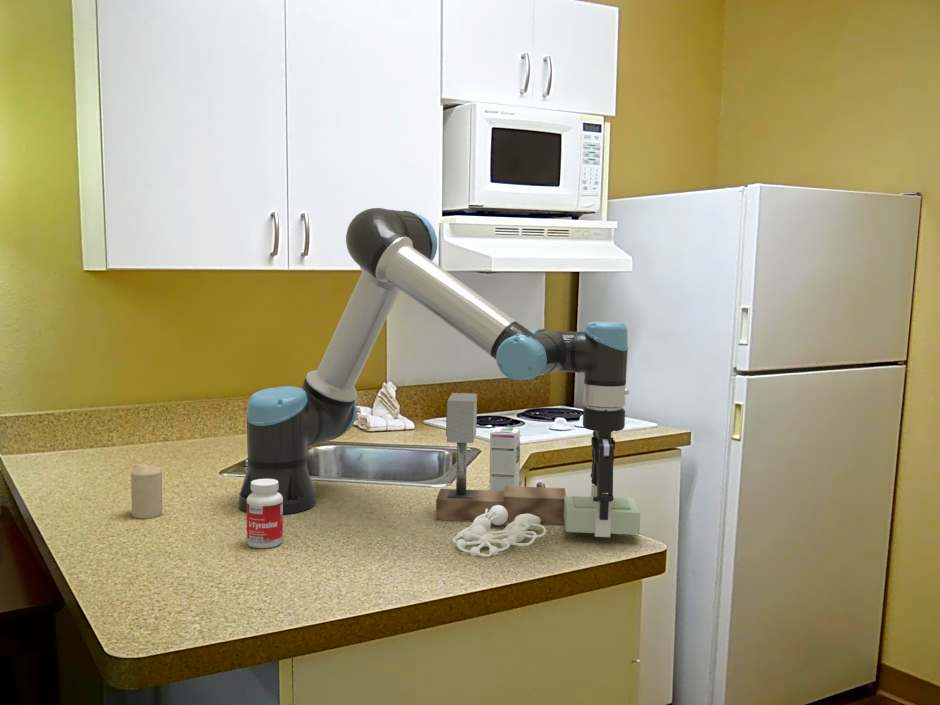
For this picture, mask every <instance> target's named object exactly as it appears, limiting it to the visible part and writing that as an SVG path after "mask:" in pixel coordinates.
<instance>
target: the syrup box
mask: <svg viewBox="0 0 940 705" xmlns="http://www.w3.org/2000/svg"><path fill="white" fill-rule="evenodd" d="M520 468H521V429H520V428H519V427H512V426H495V427H494V428H493V429H492V430H491V431H490V432H489V490H492V491H504V489H505V486H517V487H521V486H520V484H521V482H520V481H521V480H520V479H521V473H520V472H521V471H520V470H521V469H520Z"/></svg>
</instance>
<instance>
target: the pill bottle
mask: <svg viewBox="0 0 940 705" xmlns="http://www.w3.org/2000/svg"><path fill="white" fill-rule="evenodd" d="M278 488H279V486H278V481H277V480H275V479H257V480H253V481H252V482H251V491H252V493H251V494H250V495H249V496H248V497H247V512H246V545H247V546H249V547H250V548H254V549H271V548H275V547H278V546H280V545H281V544H282V543H283V541H284V540H283V539H284V538H283V537H284V536H283V535H284V534H283V533H284V514H283V497H282V495H281V494H280V493H278V492H277V490H278Z"/></svg>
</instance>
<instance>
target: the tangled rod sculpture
mask: <svg viewBox="0 0 940 705" xmlns="http://www.w3.org/2000/svg"><path fill="white" fill-rule="evenodd" d="M487 512H488V509H485V513H484V514H482V515H480V516H478V517H476V518H475V519H474V521H472V523H471V524H470V525H469V526H468V527H466V528H463V529H462V530H461V531H459V532H457V535H455V536H454V537H453V538H452V542H453V543H454V544H455V545H456V547H457V548H458V549H459V550H460V551H462V552H465V553H469V554H470V555H471V557H478V556H480V557H484V558H488V557H489V558H490V557H491V556H494V557H495V556H497V555H499V552H503V551H505V550H508V549H509V548H510V546H511V545H512V546H519V547H528V546H531V545H532V544H533V543H534V542H535V540H536V539H538V538H541V537H544V536H545V535H546V533H547V528H545V526H544V525H543V524H539V523H540V522H541V520H540V518H539V517H537V516H535V515H532V514H520V515H518V516H517V517H516V518H515V519H514V521H513V522H509V524H508V525H506V527H505V528H504V529H502V530H498V531H495V530H494V531H489V530H490V529H491V526H492V525H494V526H502V525H503V524H505V523H507V522H506V521H507V519H508V512H507V510H506V508H504V507H503V506H501V505H496V506H493V507H492V508H491V509H490V510H489V512H488V513H487ZM487 516H488V517H487ZM488 518H489V519H488ZM533 527H534V528H535V527H536V528H541V529H542V530H543V532H542V533H541V534H537V532H535V531H533V530H530V529H531V528H533ZM530 534H531V535H530ZM500 538H501V539H500ZM525 538H528V539H530V540H529V542H524V543H523V542H522V541H524V540H525ZM521 542H522V543H521ZM492 544H500V545H501V548H498V547H497V546H495V545H492ZM472 545H474V546H472ZM475 545H477V546H475ZM466 546H472V547H471V548H470V550H469V549H465V547H466ZM487 547H488V548H489V549H488V554H485V553H481V549H482V548H487Z"/></svg>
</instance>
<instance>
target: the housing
mask: <svg viewBox="0 0 940 705" xmlns="http://www.w3.org/2000/svg"><path fill="white" fill-rule="evenodd" d="M564 496H567V494H566V489H565V487H545V486H544V487H542V486H540V487H538V486H520V487H517V486H505V489H504V491H492V490H490V489H488V490H487V489H466V494H465V495H457V494H456V488H440V489H439V492H438V494H437V496H436V499H435V506H436V507H435V520H438V521H439V520H440V521H460V522H461V521H464V522H465V521H466V522H473V521H474V519H475V518H476V517H478V516H480V515H482V514H484V513H485V509H488V512H489V510H490V509H491V508H492V507H493V506H496V505H501V506H503V507H504V508H506V510H507V512H508V519H507V521H506V522H505V523H511V522H513V521H514V519H515V518H516V517H517V516H518V515H520V514H532V515H535V516H537V517H539V518H540V520H541V522H540V523H539V524H540V525H544V524H545V525H547V524H548V525H565V522H564ZM488 512H487V513H488ZM487 517H488V516H487ZM488 519H489V518H488Z"/></svg>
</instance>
